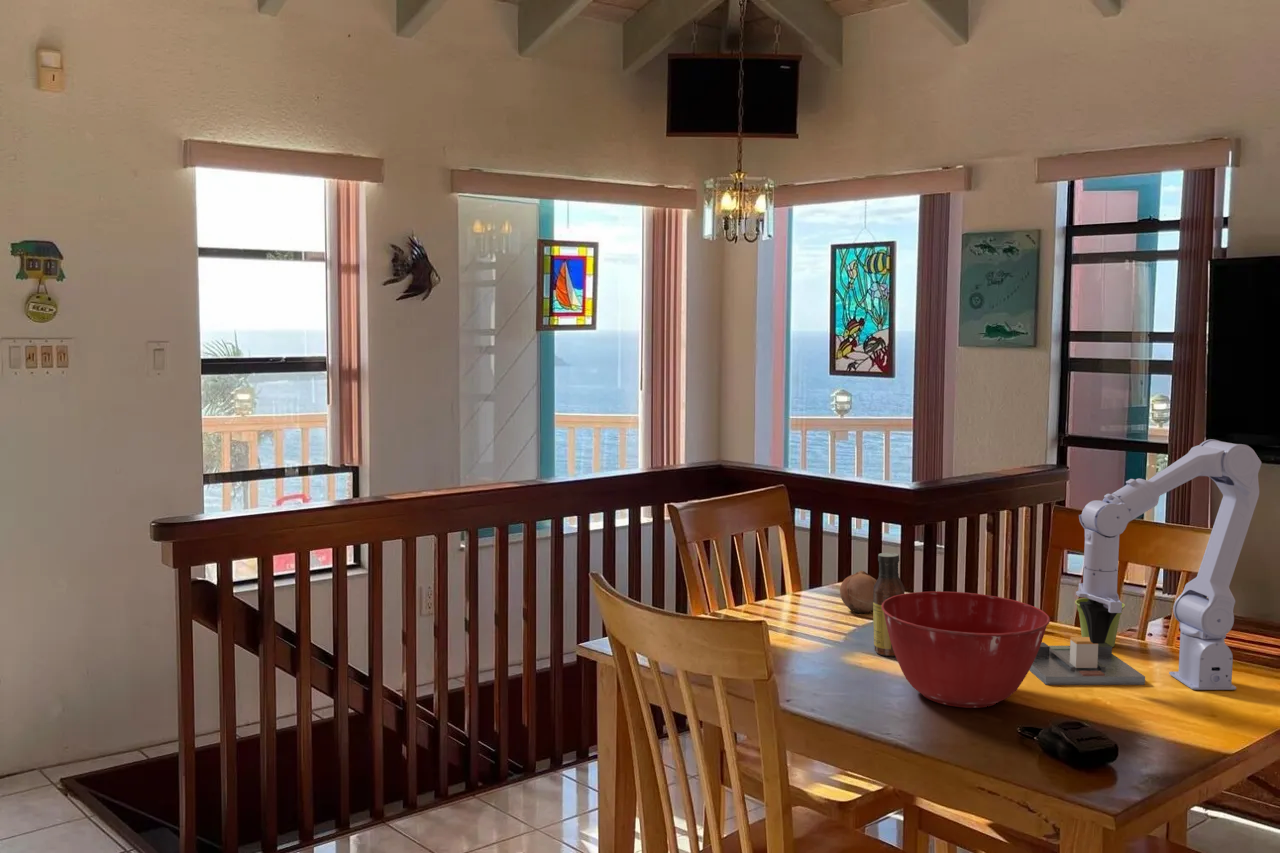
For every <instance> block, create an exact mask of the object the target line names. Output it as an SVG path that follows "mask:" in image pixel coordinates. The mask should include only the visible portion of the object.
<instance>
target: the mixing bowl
mask: <svg viewBox="0 0 1280 853" xmlns="http://www.w3.org/2000/svg"><path fill="white" fill-rule="evenodd" d="M881 607H882V610H883V612H884V616H885V621H886V625H887V630H888V634H889V637H890V641H891V644H892V647H893V650H894V653H895V656H894V657H895V658H896V660H897V663H898V665H899V667H900V669H901V672H902V674H903V675H904V677H905V679H906V680H907V682H908V683H909V684H910V685H911V687H912V688H914V690H915V691H917V692H918V693H920V694H921V695H922V697H924V698H926V699H928V700H930V701H933V702H934V703H938V704H941V705H945V706H950V707H957V708H966V709H967V708H969V709H978V708H987V706H988V707H991V706H994V705H996V703H997V704H998V703H999V702H1002V701H1003V700H1006V699H1008V698H1009V697H1011V696H1012V695H1013V694H1014V693H1015V692H1017V690H1018V689H1019V687H1020V686H1021V684H1022V683H1023V682H1024V680H1025V678H1027V674H1028V673H1029V671H1030V668H1031V666H1032V664H1033V662H1034V660H1035V657H1036V655H1037V653H1038V650H1039V648H1040V645H1041V642H1043V639H1044V637H1045V636H1044V635H1045V633H1046V630H1047V626H1048V625H1049V624H1050V621H1051V620H1050V619H1051V618H1050V616H1049V615H1048V614H1047V613H1046V612H1045V611H1044V610H1042V609H1040V608H1038V607H1036V606H1033V605H1031V604H1029V603H1025V602H1022V601H1019V600H1018V601H1017V600H1015V599H1010V598H1006V597H1000V596H996V595H989V594H983V593H973V592H964V591H963V592H960V591H937V590H936V591H918V592H909V593H908V592H905V594H901V595H896V596H893V597H890V598H888V599H886V600H885V601H884V602H883V603H882V605H881Z"/></svg>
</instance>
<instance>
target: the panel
mask: <svg viewBox="0 0 1280 853" xmlns="http://www.w3.org/2000/svg"><path fill="white" fill-rule="evenodd" d="M1029 671H1030V673H1031V674H1033V675H1034V676H1035V677H1036V678H1038V679H1039V680H1040V681H1041V682H1042V683H1043V684H1044V685H1046V686H1049V685H1050V686H1051V685H1053V686H1061V685H1062V686H1063V685H1065V686H1070V685H1071V686H1076V685H1077V686H1078V685H1080V686H1081V685H1082V686H1086V685H1087V686H1094V685H1095V686H1097V685H1099V686H1101V685H1103V686H1104V685H1105V686H1108V685H1109V686H1111V685H1113V686H1114V685H1115V686H1121V685H1122V686H1123V685H1125V686H1129V685H1131V686H1132V685H1134V686H1136V685H1137V686H1139V685H1140V686H1142V685H1143V686H1144V685H1146V676H1145V675H1143V674H1142V673H1141V672H1139V671H1138V670H1136V669H1135V668H1134V667H1132V666H1131V665H1130V664H1128V663H1126V662H1125V661H1123V660H1122V659H1121V658H1119V657H1118V656H1117V655H1114V653H1113V647H1112V646H1110V645H1109V644H1107V643H1106V642H1105V643H1104V644H1098V664H1097V668H1075V667H1074V666H1073V665H1072V664H1071V663H1070V645H1048V644H1047V643H1046V642H1045V641H1042V642H1041V645H1040V648H1039V650H1038V653H1037V655H1036V657H1035V660H1034V662H1033V664H1032V666H1031V668H1030V670H1029Z"/></svg>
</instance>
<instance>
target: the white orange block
mask: <svg viewBox="0 0 1280 853" xmlns="http://www.w3.org/2000/svg"><path fill="white" fill-rule="evenodd" d="M1069 646H1070V663H1071V664H1072V665H1073V666H1074V667H1075V668H1097V664H1098V644H1094V643H1092V642H1091V641H1090V637H1082V636H1070V645H1069Z"/></svg>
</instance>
